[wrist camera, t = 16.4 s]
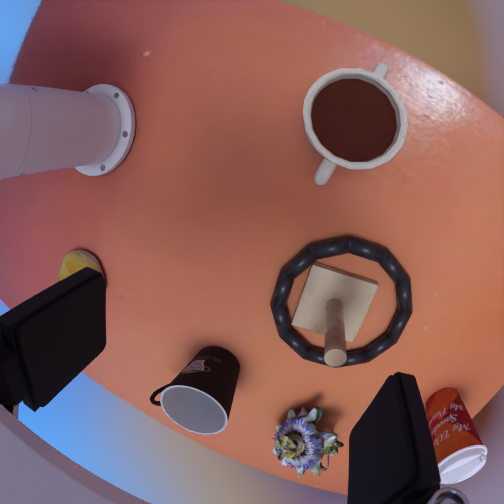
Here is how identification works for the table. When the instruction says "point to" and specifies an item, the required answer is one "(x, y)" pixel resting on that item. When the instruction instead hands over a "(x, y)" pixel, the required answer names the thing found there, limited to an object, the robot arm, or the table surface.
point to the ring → (329, 250)
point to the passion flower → (304, 441)
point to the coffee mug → (202, 392)
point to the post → (334, 308)
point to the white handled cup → (354, 120)
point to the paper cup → (454, 437)
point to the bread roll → (77, 263)
